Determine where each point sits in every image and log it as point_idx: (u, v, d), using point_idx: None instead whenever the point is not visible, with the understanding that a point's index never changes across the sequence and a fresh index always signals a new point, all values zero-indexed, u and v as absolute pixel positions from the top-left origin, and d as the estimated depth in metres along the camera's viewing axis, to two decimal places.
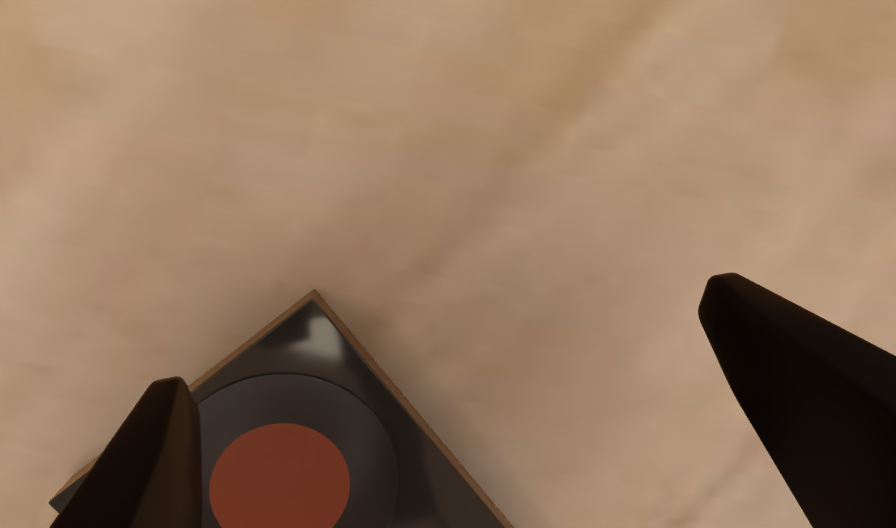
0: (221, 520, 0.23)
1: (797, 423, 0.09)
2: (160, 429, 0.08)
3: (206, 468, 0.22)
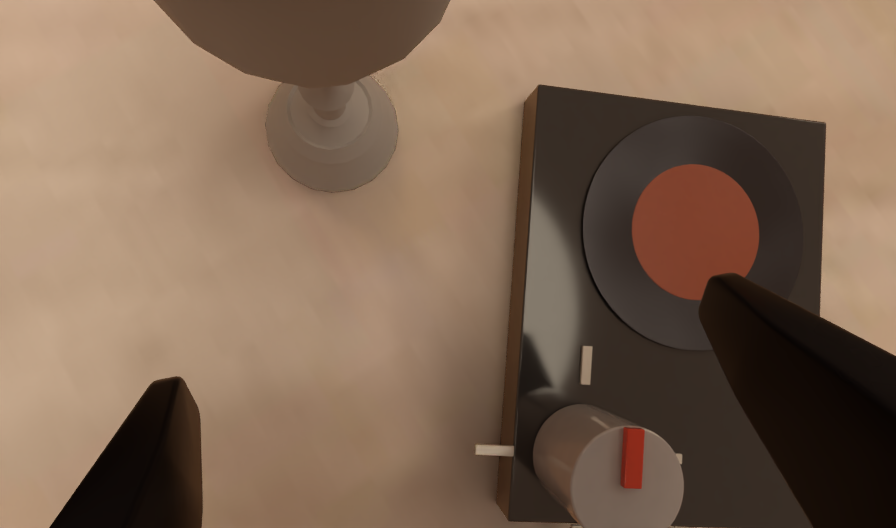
0: (637, 213, 0.23)
1: (797, 423, 0.09)
2: (160, 429, 0.08)
3: (663, 165, 0.23)
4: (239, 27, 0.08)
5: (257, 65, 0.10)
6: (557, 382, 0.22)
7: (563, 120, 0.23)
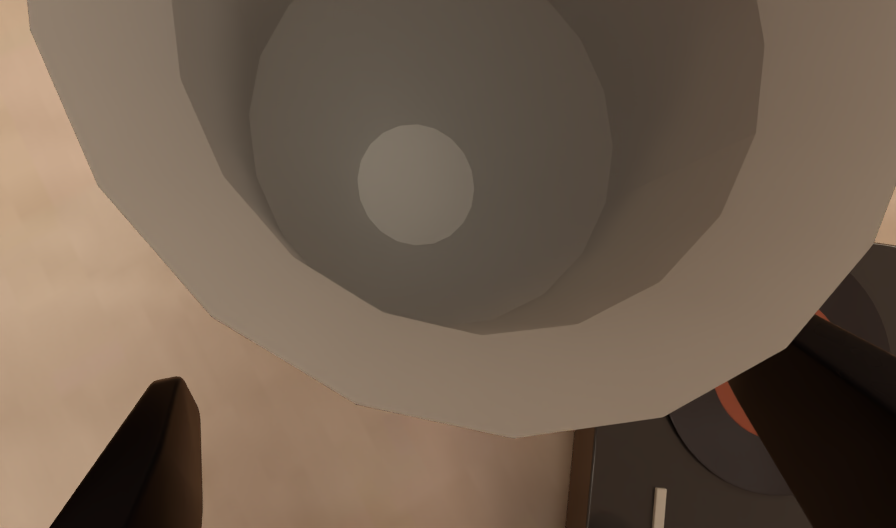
0: None
1: (797, 423, 0.09)
2: (160, 429, 0.08)
3: None
4: None
5: None
6: (628, 526, 0.21)
7: None
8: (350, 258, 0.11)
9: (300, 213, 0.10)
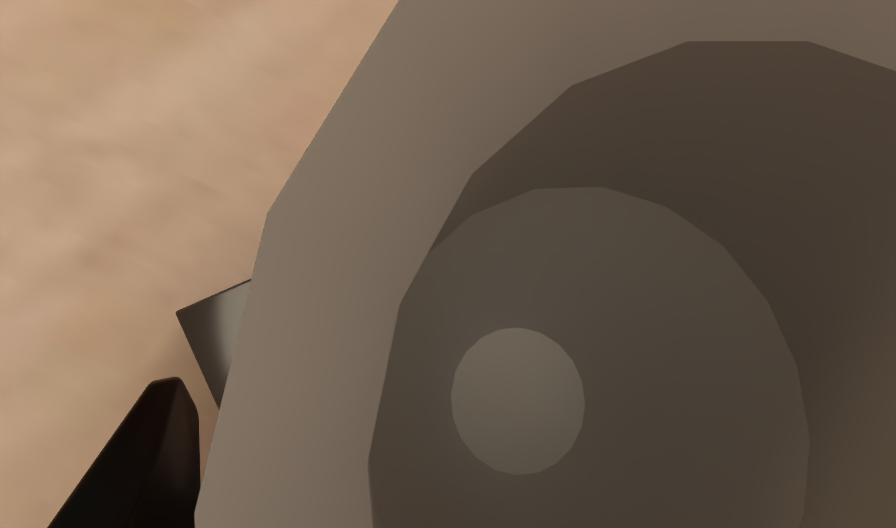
0: None
1: None
2: (158, 429, 0.08)
3: None
4: None
5: None
6: None
7: (222, 333, 0.20)
8: None
9: (412, 502, 0.08)
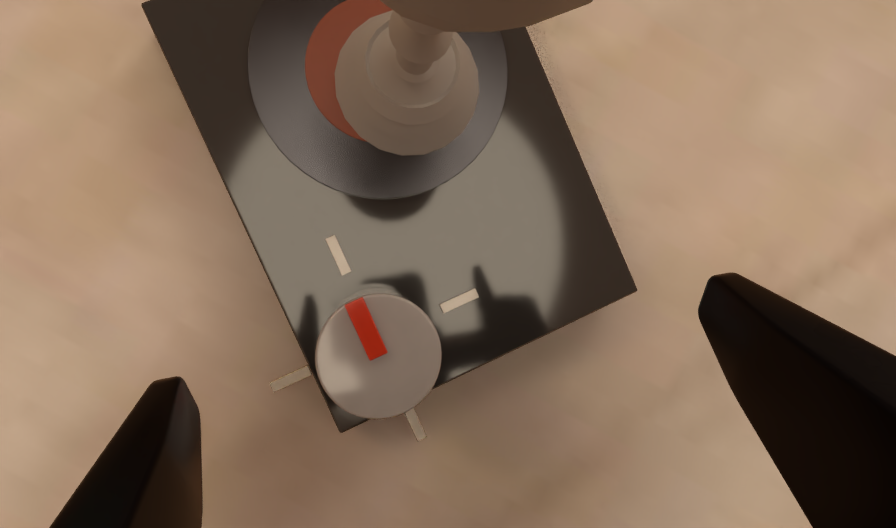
0: (310, 81, 0.21)
1: (797, 423, 0.09)
2: (160, 429, 0.08)
3: (312, 19, 0.21)
4: None
5: None
6: (319, 285, 0.21)
7: (187, 26, 0.20)
8: None
9: None
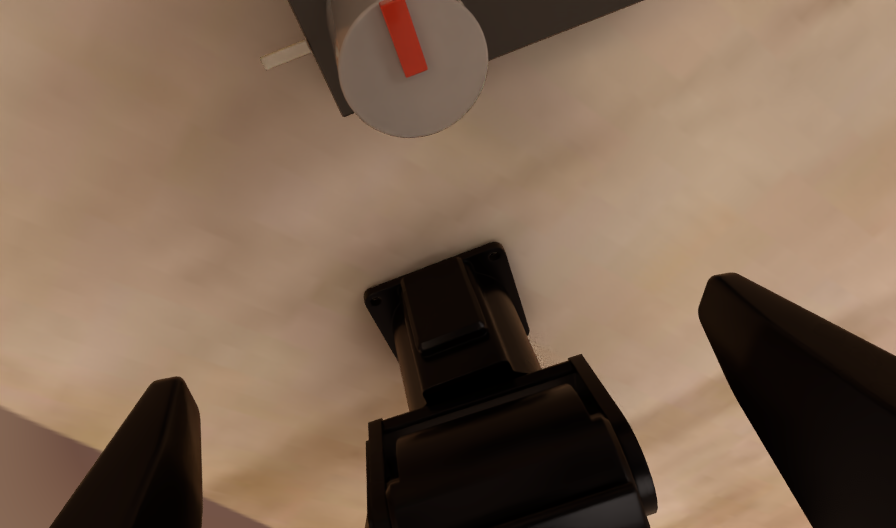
0: None
1: (797, 423, 0.09)
2: (160, 429, 0.08)
3: None
4: None
5: None
6: None
7: None
8: None
9: None
